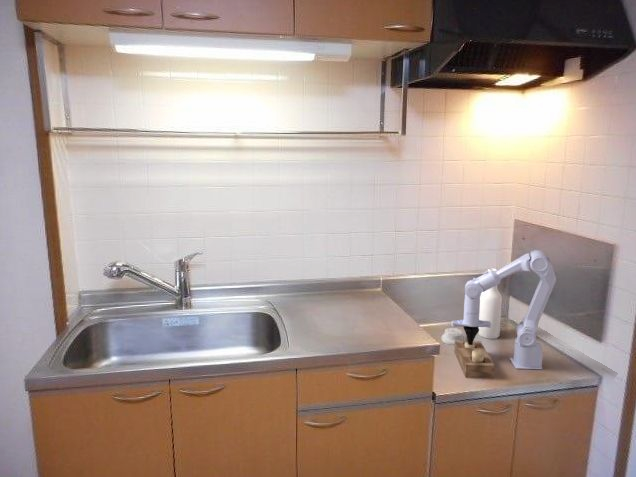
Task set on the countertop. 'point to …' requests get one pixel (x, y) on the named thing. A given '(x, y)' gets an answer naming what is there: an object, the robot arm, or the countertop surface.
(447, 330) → the mechanical component
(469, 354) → the collar bar
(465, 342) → the peg
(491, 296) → the white milk bottle
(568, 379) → the countertop surface
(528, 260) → the robot arm
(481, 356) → the peg
